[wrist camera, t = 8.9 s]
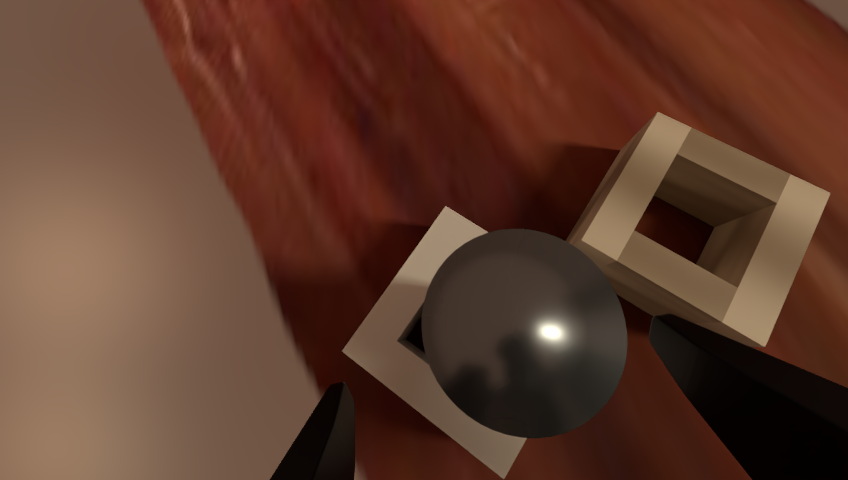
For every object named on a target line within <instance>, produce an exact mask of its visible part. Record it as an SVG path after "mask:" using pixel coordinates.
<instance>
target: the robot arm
mask: <svg viewBox="0 0 848 480" xmlns="http://www.w3.org/2000/svg"><path fill="white" fill-rule="evenodd" d="M649 340H650V343H651V345H652V346H653V348H654V349H655V351H656V352H657V354H658V355H659V357H660V359H661V360H662V362H663V363H664V365H665V366H666V368H667V369H668V371H669V372H670V374H671V375H672V377H673V378H674V380H675V381H676V383H677V384H678V386H679V387H680V389H681V390H682V392H683V393H684V394H685V396H686V397H687V398H688V400H689V401H690V402H691V403H692V405H693V406H694V407H695V408H696V410H697V411H698V412H699V413H700V415H701V416H702V417H703V418H704V420H705V421H706V422H707V423H708V425H709V426H710V427H711V428H712V430H713V431H714V432H715V433H716V435H717V436H718V437H719V438H720V440H721V441H722V442H723V443H724V445H725V446H726V447H727V448H728V450H729V451H730V452H731V453H732V455H733V456H734V457H735V458H736V460H737V461H738V462H739V463H740V465H741V466H742V467H743V468H744V470H745V471H746V472H747V473H748V475H749V476H750V477H751V478H752V480H848V388H846V387H844V386H842V385H839V384H837V383H834V382H832V381H830V380H827V379H825V378H823V377H820V376H818V375H816V374H813V373H811V372H808V371H806V370H804V369H801V368H799V367H797V366H794V365H792V364H790V363H787V362H785V361H782V360H780V359H778V358H775V357H773V356H771V355H768V354H766V353H764V352H761V351H759V350H756V349H754V348H752V347H749V346H747V345H745V344H742V343H740V342H738V341H735V340H733V339H730V338H728V337H726V336H723V335H721V334H719V333H716V332H714V331H712V330H709V329H707V328H705V327H702V326H700V325H697V324H695V323H693V322H690V321H688V320H686V319H683V318H681V317H679V316H676V315H674V314H671V313H664V314H659V315H655V316H654V317H653V318H652V321H651V326H650V331H649ZM354 472H355V404H354V400H353V397H352V395H351V393H350V391H349V389H348V387H347V385H346V383H345V382H340V383H335V384H332V385H330V386H329V388H328V389H327V391H326V392H325V394H324V395H323V397H322V398H321V400H320V402H319V403H318V405H317V406H316V408H315V410H314V411H313V413H312V414H311V416H310V417H309V419H308V420H307V422H306V424H305V425H304V427H303V428H302V430H301V432H300V433H299V435H298V436H297V438H296V439H295V441H294V442H293V444H292V446H291V447H290V449H289V450H288V452H287V454H286V455H285V457H284V458H283V460H282V461H281V463H280V464H279V466H278V468H277V469H276V471H275V473H274V474H273V475H272V477H271V479H270V480H354Z"/></svg>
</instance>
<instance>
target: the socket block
mask: <svg viewBox="0 0 848 480" xmlns="http://www.w3.org/2000/svg"><path fill="white" fill-rule="evenodd" d="M486 233H488V232H487V231H485V230H484V229H482V228H480V227H479V226H477V225H476V224H474V223H472V222H471V221H469V220H467V219H466V218H464V217H463V216H461V215H459V214H458V213H456V212H454V211H453V210H451V209H450V208H448V207H446V206H445V208H444V209H443V211H442V212H441V213H440V215H439V216H438V218H437V219H436V220H435V222H434V223H433V224H432V226H431V227H430V229H429V230H428V231H427V233H426V234H425V236H424V237H423V238H422V240H421V241H420V243H419V244H418V245H417V247H416V248H415V250H414V251H413V252H412V254H411V255H410V257H409V258H408V259H407V261H406V262H405V264H404V265H403V266H402V268H401V269H400V271H399V272H398V273H397V275H396V276H395V278H394V279H393V280H392V282H391V283H390V285H389V286H388V287H387V289H386V290H385V292H384V293H383V294H382V296H381V297H380V299H379V300H378V301H377V303H376V304H375V305H374V307H373V308H372V310H371V311H370V312H369V314H368V315H367V317H366V318H365V319H364V321H363V322H362V324H361V325H360V326H359V328H358V329H357V331H356V332H355V333H354V335H353V336H352V338H351V339H350V340H349V342H348V343H347V345H346V346H345V347H344V349H343V350H342V352H343V353H345V354H346V355H347V356H348V357H350V358H351V359H352V360H353V361H355V362H356V363H357V364H359V365H360V366H361V367H362V368H364V369H365V370H366V371H367V372H369V373H370V374H371V375H372V376H374V377H375V378H376V379H378V380H379V381H380V382H381V383H383V384H384V385H385V386H386V387H388V388H389V389H390V390H391V391H393V392H394V393H395V394H397V395H398V396H399V397H400V398H402V399H403V400H404V401H405V402H407V403H408V404H409V405H410V406H412V407H413V408H414V409H415V410H417V411H418V412H419V413H421V414H422V415H423V416H424V417H426V418H427V419H428V420H429V421H431V422H432V423H433V424H434V425H436V426H437V427H438V428H440V429H441V430H442V431H443V432H445V433H446V434H447V435H448V436H450V437H451V438H452V439H453V440H455V441H456V442H457V443H459V444H460V445H461V446H462V447H464V448H465V449H466V450H467V451H469V452H470V453H471V454H472V455H474V456H475V457H476V458H477V459H479V460H480V461H481V462H483V463H484V464H485V465H486V466H488V467H489V468H490V469H491V470H493V471H494V472H495V473H496V474H498V475H499V476H500V477H502V478H503V479H504V478H505V477H506V475H507V473H508V471H509V469H510V468H511V466H512V464H513V462H514V460H515V459H516V457H517V455H518V453H519V451H520V450H521V448H522V446H523V444H524V442H525V441H526V439H527V438H521V437H515V436H510V435H506V434H503V433H500V432H497V431H494V430H491V429H489V428H487V427H485V426H483V425H481V424H479V423H478V422H476V421H475V420H473V419H472V418H470V417H469V416H467V415H466V414H465V413H464V412H463V411H461V410H460V409H459V408H458V407H457V406H456V405H455V404H454V403H453V402H452V401H451V400H450V399H449V397H448V396H447V395H446V394H445V392H444V391H443V390H442V388H441V387H440V385H439V384H438V382H437V380H436V378H435V376H434V374H433V373H432V371H431V368H430V366H429V363H428V360H427V357H426V354H425V353H424V352H423V351H421V350H420V349H419V348H417V347H416V346H415V345H413V344H412V343H411V342H409V341H408V340H406V338H407V337H408V335H409V334H410V333H411V331H412V330H413V328H414V327H415V325H416V324H417V322H418V321H419V319H420V318H421V316H422V311H423V305H424V300H425V297H426V293H427V290H428V288H429V285H430V283H431V281H432V279H433V277H434V275H435V274H436V272H437V270H438V269H439V267H440V266H441V265H442V264H443V262H444V261H445V260H446V259H447V258H448V257H449V256H450V255H451V254H452V253H453V252H454V251H455V250H456V249H458V248H459V247H460V246H462V245H463V244H464V243H466V242H468V241H470V240H472V239H473V238H475V237H478V236H480V235H483V234H486Z"/></svg>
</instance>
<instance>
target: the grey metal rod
mask: <svg viewBox="0 0 848 480" xmlns="http://www.w3.org/2000/svg"><path fill="white" fill-rule="evenodd" d="M422 339H423V345H424V350H425V354H426V357H427V360H428V363H429V366H430V368H431V371H432V373H433V374H434V376H435V378H436V380H437V382H438V384H439V385H440V387H441V388H442V390H443V391H444V392H445V394H446V395H447V396H448V397H449V399H450V400H451V401H452V402H453V403H454V404H455V405H456V406H457V407H458V408H459V409H460V410H461V411H463V412H464V413H465V414H466V415H467V416H469V417H470V418H472V419H473V420H475V421H476V422H478V423H479V424H481V425H483V426H485V427H487V428H489V429H491V430H494V431H497V432H500V433H503V434H506V435H510V436H515V437H521V438H543V437H551V436H555V435H559V434H563V433H566V432H568V431H570V430H573V429H575V428H577V427H579V426H580V425H582V424H584V423H585V422H587V421H588V420H590V419H591V418H592V417H593V416H594V415H596V414H597V413H598V412H599V411H600V410H601V409H602V408H603V407H604V405H605V404H606V403H607V402H608V401H609V399H610V398H611V396H612V394H613V393H614V391H615V389H616V388H617V385H618V383H619V381H620V378H621V376H622V373H623V369H624V365H625V362H626V353H627V330H626V323H625V318H624V314H623V311H622V307H621V304H620V302H619V299H618V297H617V295H616V292H615V291H614V289H613V287H612V285H611V284H610V282H609V280H608V279H607V278H606V276H605V275H604V273H603V272H602V271H601V270H600V268H599V267H598V266H597V265H596V264H595V263H594V262H593V261H592V260H591V259H590V258H589V257H588V256H586V255H585V254H584V253H583V252H582V251H580V250H579V249H577V248H576V247H574V246H573V245H571V244H570V243H568V242H566V241H564V240H562V239H560V238H558V237H555V236H553V235H550V234H547V233H543V232H539V231H535V230H528V229H504V230H497V231H493V232H489V233H486V234H483V235H480V236H478V237H475V238H473V239H472V240H470V241H468V242H466V243H464V244H463V245H462V246H460V247H459V248H458V249H456V250H455V251H454V252H453V253H452V254H451V255H450V256H449V257H448V258H447V259H446V260H445V261H444V262H443V264H442V265H441V266H440V267H439V269H438V270H437V272H436V274H435V275H434V277H433V279H432V281H431V283H430V285H429V288H428V290H427V293H426V297H425V300H424V305H423V311H422Z"/></svg>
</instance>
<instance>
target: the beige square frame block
mask: <svg viewBox="0 0 848 480" xmlns="http://www.w3.org/2000/svg"><path fill="white" fill-rule="evenodd" d="M653 195H654V196H656V197H658V198H659V199H661V200H663V201H665V202H667V203H669V204H671V205H673V206H675V207H677V208H678V209H680V210H682V211H684V212H686V213H688V214H690V215H692V216H694V217H696V218H697V219H699V220H701V221H703V222H705V223H707V224H709V225H711V226H713V227H714V229H713V231H712V233H711V235H710V237H709V239H708V241H707V243H706V245H705V247H704V249H703V251H702V253H701V255H700V257H699V259H698V261H697V263H696V264H694V263H692V262H690V261H689V260H687V259H685V258H683V257H681V256H680V255H678V254H676V253H674V252H672V251H671V250H669V249H667V248H665V247H663V246H662V245H660V244H658V243H656V242H654V241H653V240H651V239H649V238H647V237H645V236H644V235H642V234H640V233H638V232H636V231H635V230H634V229H635V227H636V226H637V224H638V222H639V220H640V219H641V217H642V215H643V213H644V211H645V210H646V208H647V206H648V204H649V203H650V201H651V199H652V197H653ZM829 195H830V193H829V192H827V191H825V190H823V189H821V188H818V187H816V186H814V185H812V184H810V183H808V182H806V181H804V180H801V179H799V178H797V177H795V176H793V175H791V174H789V173H787V172H784V171H782V170H780V169H778V168H776V167H774V166H772V165H770V164H767V163H765V162H763V161H761V160H759V159H757V158H755V157H753V156H750V155H748V154H746V153H744V152H742V151H740V150H738V149H736V148H734V147H731V146H729V145H727V144H725V143H723V142H721V141H719V140H717V139H714V138H712V137H710V136H708V135H706V134H704V133H702V132H700V131H697V130H695V129H693V128H691V127H689V126H687V125H685V124H683V123H680V122H678V121H676V120H674V119H672V118H670V117H668V116H666V115H663V114H661V113H659V112H657V113H656V114H655V115H654V116H653V117H652V118H651V119H650V120H649V121H648V122H647V123H646V124H645V126H644V127H643V128H642V129H641V130H640V131H639V132H638V133H637V134H636V135H635V136H634V137H633V138H632V139H631V140H630V141H629V142H628V143H627V144H626V145H625V146H624V147H623V148H622V149H621V150H620V152H619V154H618V155H617V157H616V159H615V160H614V162H613V164H612V165H611V167H610V168H609V170H608V172H607V173H606V175H605V177H604V178H603V180H602V182H601V183H600V185H599V187H598V188H597V190H596V191H595V193H594V195H593V196H592V198H591V200H590V201H589V203H588V205H587V206H586V208H585V210H584V211H583V213H582V215H581V216H580V218H579V219H578V221H577V223H576V224H575V226H574V228H573V229H572V231H571V233H570V234H569V236H568V238H567V239H566V242H568V243H570V244H571V245H573V246H574V247H576V248H577V249H579V250H580V251H582V252H583V253H584V254H585V255H586V256H588V257H589V258H590V259H591V260H592V261H593V262H594V263H595V264H596V265H597V266H598V267H599V268H600V270H601V271H602V272H603V273H604V275H605V276H606V278H607V279H608V280H609V282H610V284H611V285H612V287H613V289H614V291H615V292H616V294H617V295H619V296H620V297H622V298H623V299H625V300H627V301H628V302H630V303H632V304H633V305H635V306H637V307H638V308H640V309H642V310H643V311H645V312H647V313H648V314H650V315H652V316H653V317H654V316H655V315H659V314H664V313H671V314H674V315H676V316H679V317H681V318H683V319H686V320H688V321H690V322H693V323H695V324H697V325H700V326H702V327H705V328H707V329H709V330H712V331H714V332H716V333H719V334H721V335H723V336H726V337H728V338H730V339H733V340H735V341H738V342H740V343H742V344H745V345H747V346H750V347H765V346H766V344H767V341H768V339H769V336H770V334H771V332H772V329H773V327H774V325H775V322H776V320H777V318H778V315H779V313H780V311H781V308H782V306H783V304H784V301H785V299H786V297H787V294H788V292H789V289H790V287H791V285H792V282H793V280H794V278H795V275H796V273H797V271H798V268H799V266H800V264H801V261H802V259H803V257H804V254H805V252H806V250H807V247H808V245H809V242H810V240H811V238H812V235H813V233H814V231H815V228H816V226H817V224H818V221H819V219H820V217H821V214H822V212H823V210H824V207H825V205H826V203H827V200H828V198H829Z"/></svg>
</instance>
